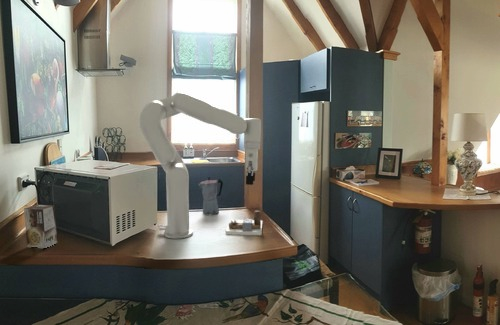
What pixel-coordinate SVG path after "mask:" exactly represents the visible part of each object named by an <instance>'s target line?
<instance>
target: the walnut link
mask: <svg viewBox="0 0 500 325" xmlns="http://www.w3.org/2000/svg"><path fill="white" fill-rule="evenodd" d="M261 214H262V211H261V210H254V212H253V215H254V216H253V217H254V218H253V220H254V223H252V228H261V220H262V219H261V218H262V216H261ZM228 224H229V228H242V223H237V222H236V224H231V223H229V222H228Z"/></svg>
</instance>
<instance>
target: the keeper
mask: <svg viewBox="0 0 500 325" xmlns="http://www.w3.org/2000/svg"><path fill="white" fill-rule="evenodd" d="M230 220H231V224H236V220H237V219H230ZM242 220H243V223H242V231H252V220H253V219H252V218H243V219H242Z"/></svg>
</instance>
